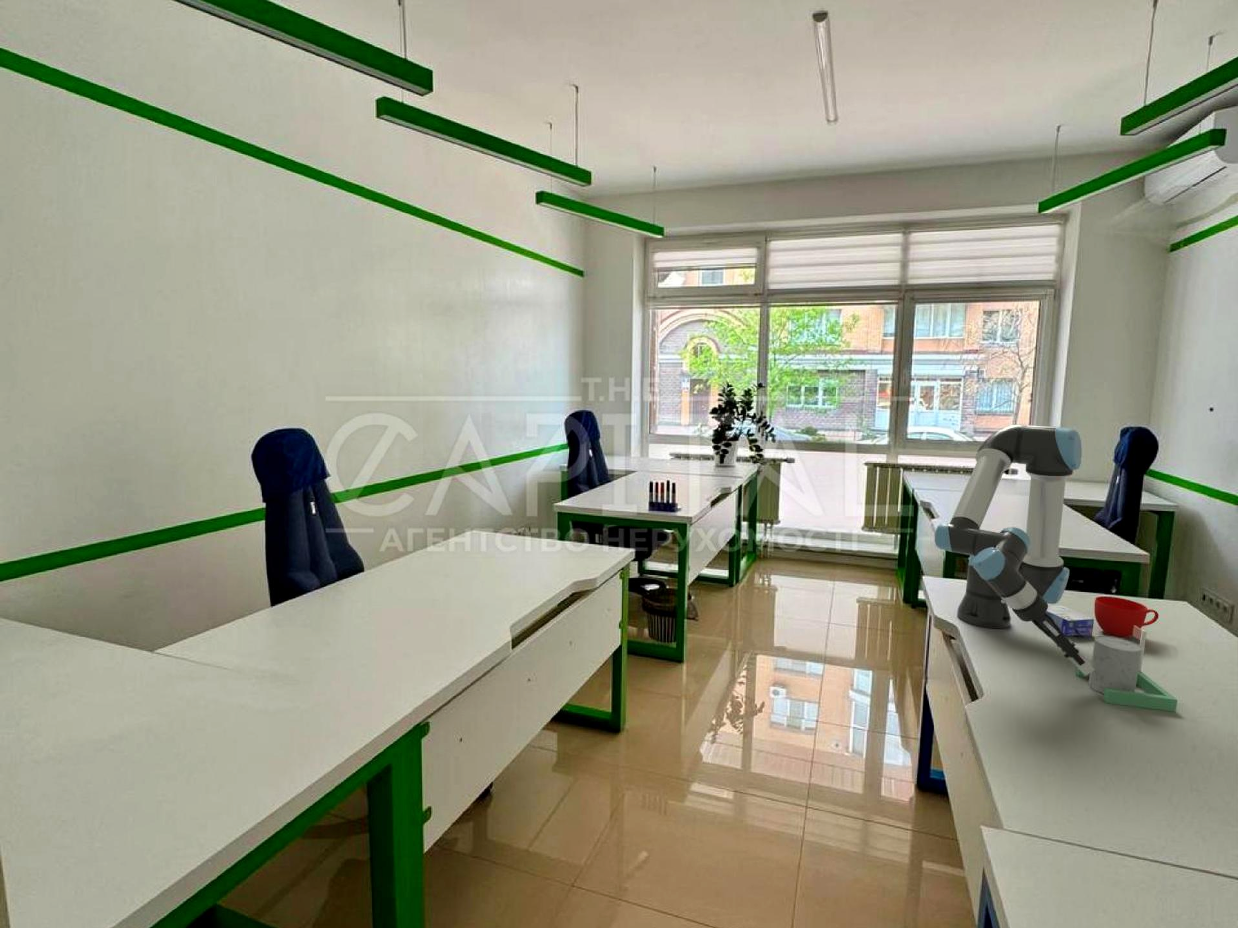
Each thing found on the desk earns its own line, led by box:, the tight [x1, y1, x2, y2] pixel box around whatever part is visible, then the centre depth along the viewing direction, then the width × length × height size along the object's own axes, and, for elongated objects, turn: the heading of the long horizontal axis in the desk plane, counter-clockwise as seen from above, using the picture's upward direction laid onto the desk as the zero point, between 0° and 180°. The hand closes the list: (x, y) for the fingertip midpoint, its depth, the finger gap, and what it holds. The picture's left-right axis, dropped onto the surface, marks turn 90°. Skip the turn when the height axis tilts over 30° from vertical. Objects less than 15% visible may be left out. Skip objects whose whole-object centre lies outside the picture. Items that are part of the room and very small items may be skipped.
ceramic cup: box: [1093, 595, 1159, 639], centre depth 200 cm, size 13×17×10 cm
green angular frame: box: [1075, 625, 1178, 713], centre depth 163 cm, size 20×14×14 cm
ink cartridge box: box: [1045, 605, 1095, 637], centre depth 202 cm, size 10×6×14 cm
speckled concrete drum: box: [1087, 635, 1142, 695], centre depth 163 cm, size 10×10×12 cm
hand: (1089, 671), depth 163 cm, fingers closed
